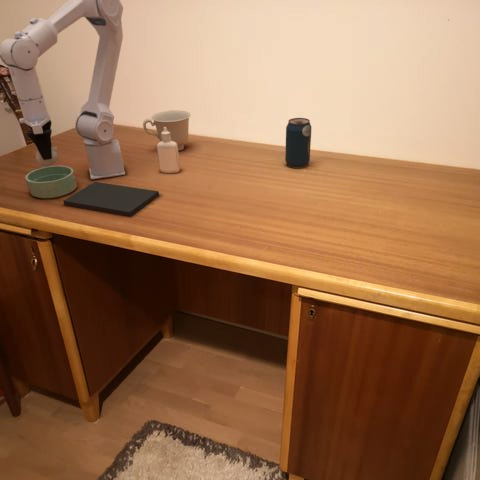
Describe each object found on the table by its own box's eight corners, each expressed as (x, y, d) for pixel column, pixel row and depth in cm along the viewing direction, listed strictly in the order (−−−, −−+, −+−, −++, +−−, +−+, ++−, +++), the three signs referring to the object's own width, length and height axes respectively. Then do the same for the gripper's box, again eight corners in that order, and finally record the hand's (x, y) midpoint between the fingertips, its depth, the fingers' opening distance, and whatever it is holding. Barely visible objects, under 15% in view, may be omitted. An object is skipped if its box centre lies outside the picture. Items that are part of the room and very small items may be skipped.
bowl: (76, 178, 130) (72, 163, 127) (78, 194, 121) (74, 178, 118) (31, 185, 127) (26, 169, 125) (30, 202, 118) (24, 185, 116)
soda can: (313, 166, 131) (316, 122, 124) (291, 170, 129) (293, 125, 122) (302, 158, 136) (304, 115, 129) (281, 162, 134) (281, 119, 127)
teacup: (144, 146, 151) (139, 114, 144) (189, 140, 154) (186, 108, 147) (150, 158, 141) (144, 124, 135) (197, 151, 145) (194, 118, 138)
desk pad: (159, 195, 119) (158, 191, 118) (130, 216, 110) (129, 212, 109) (96, 185, 126) (95, 181, 125) (64, 205, 116) (62, 200, 116)
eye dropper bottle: (172, 175, 130) (166, 131, 122) (158, 171, 132) (151, 127, 125) (182, 170, 132) (177, 126, 125) (168, 166, 135) (162, 123, 128)
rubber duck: (33, 167, 118) (22, 135, 113) (52, 159, 123) (43, 127, 118) (48, 170, 116) (38, 137, 111) (67, 161, 121) (58, 130, 116)
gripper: (14, 93, 114) (32, 148, 123) (11, 107, 103) (30, 167, 112) (44, 90, 116) (59, 145, 124) (44, 103, 105) (60, 162, 113)
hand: (47, 155), depth 118 cm, fingers closed on rubber duck, 5 cm apart
